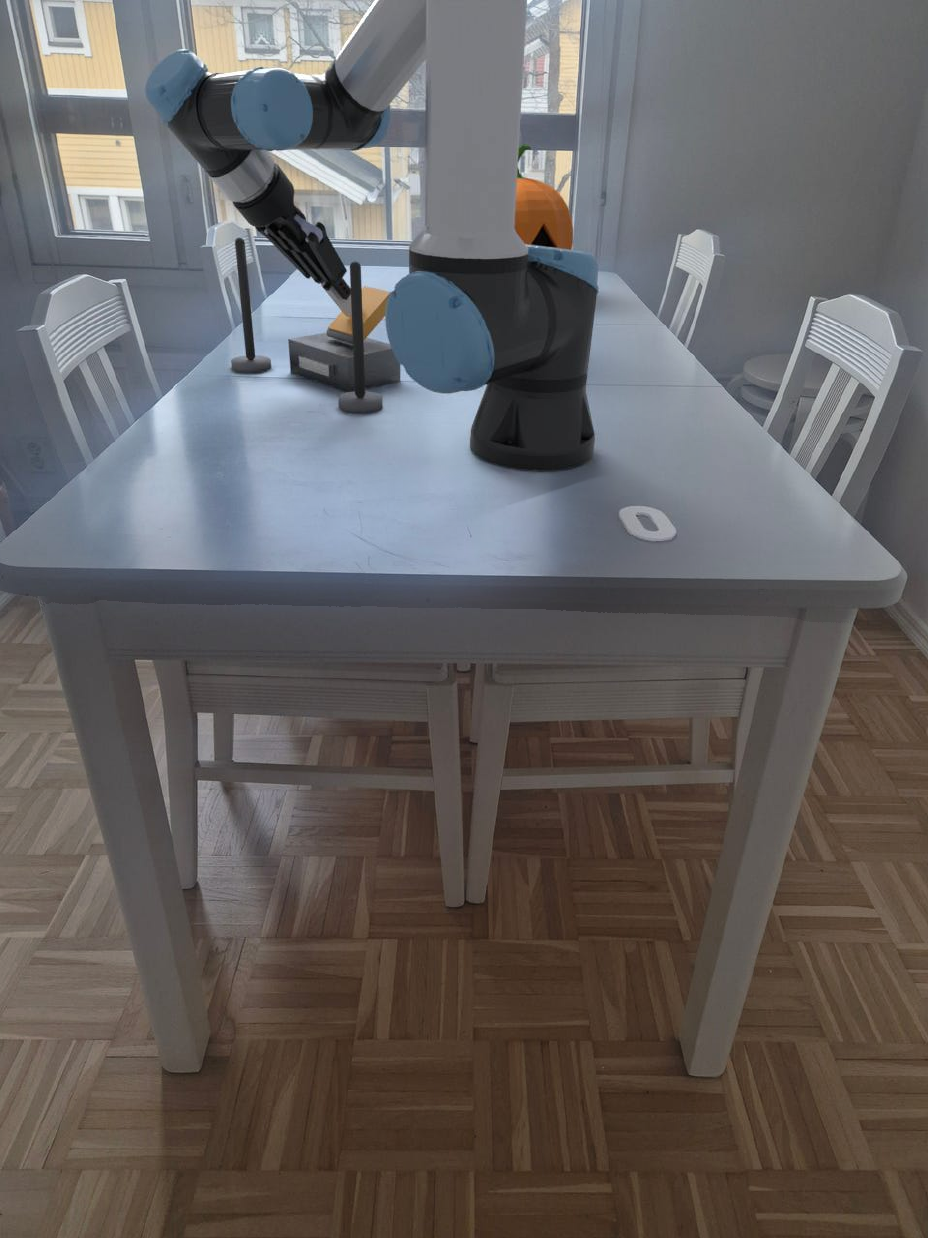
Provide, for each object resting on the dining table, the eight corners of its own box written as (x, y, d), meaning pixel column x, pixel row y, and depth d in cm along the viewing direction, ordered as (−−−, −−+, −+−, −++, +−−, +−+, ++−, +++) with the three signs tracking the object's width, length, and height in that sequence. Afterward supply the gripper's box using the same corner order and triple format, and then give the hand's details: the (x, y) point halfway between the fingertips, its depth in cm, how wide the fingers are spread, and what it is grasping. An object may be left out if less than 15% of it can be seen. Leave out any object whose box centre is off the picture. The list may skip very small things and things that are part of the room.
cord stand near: (387, 411, 114) (384, 264, 104) (343, 415, 112) (335, 266, 102) (377, 398, 118) (373, 256, 108) (334, 401, 117) (327, 257, 107)
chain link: (657, 510, 89) (613, 510, 88) (658, 505, 89) (613, 505, 88) (682, 543, 82) (633, 544, 82) (683, 538, 82) (634, 538, 81)
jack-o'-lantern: (429, 297, 184) (431, 140, 169) (466, 278, 207) (471, 138, 192) (554, 309, 178) (568, 147, 162) (578, 288, 201) (592, 144, 185)
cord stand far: (273, 372, 129) (262, 240, 119) (232, 373, 127) (218, 240, 117) (269, 362, 133) (258, 234, 124) (230, 363, 132) (216, 234, 122)
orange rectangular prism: (351, 338, 122) (391, 292, 124) (323, 330, 126) (363, 285, 128) (357, 348, 123) (397, 302, 126) (330, 340, 127) (369, 296, 129)
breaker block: (344, 393, 120) (343, 358, 117) (286, 373, 128) (283, 339, 126) (400, 380, 127) (400, 346, 124) (341, 362, 135) (340, 329, 132)
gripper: (301, 162, 102) (397, 297, 121) (239, 154, 109) (339, 283, 129) (267, 210, 101) (369, 338, 120) (207, 199, 109) (312, 322, 128)
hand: (354, 309), depth 125 cm, fingers closed
